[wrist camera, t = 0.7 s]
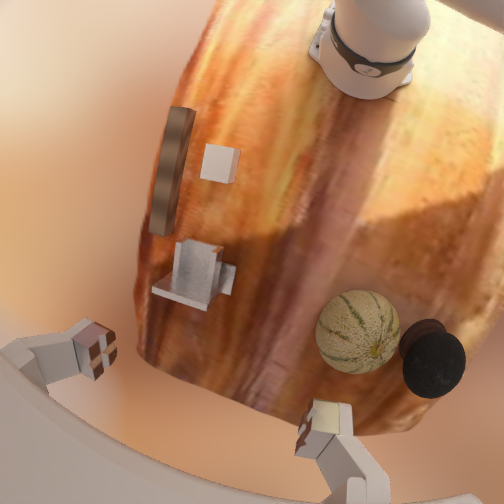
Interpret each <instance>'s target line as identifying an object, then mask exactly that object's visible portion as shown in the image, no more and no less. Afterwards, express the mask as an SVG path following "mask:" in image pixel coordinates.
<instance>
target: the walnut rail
mask: <svg viewBox="0 0 504 504" xmlns="http://www.w3.org/2000/svg"><path fill="white" fill-rule="evenodd" d="M195 115H196V111H194V110H192V109H190V108H185V107H174V106H171V108H170V112H169V116H168V121H167V125H166V129H165V134H164V139H163V144H162V149H161V154H160V159H159V164H158V170H157V176H156V182H155V188H154V194H153V201H152V208H151V215H150V223H149V233H152V234H156V235H159V236H162V237H165V236H167V235H169V234H171V233H173V228H174V222H175V215H176V209H177V203H178V197H179V192H180V186H181V181H182V175H183V170H184V165H185V160H186V155H187V150H188V146H189V141H190V137H191V132H192V128H193V123H194V119H195Z"/></svg>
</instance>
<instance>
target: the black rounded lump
mask: <svg viewBox="0 0 504 504" xmlns="http://www.w3.org/2000/svg"><path fill="white" fill-rule="evenodd" d="M399 350H400V354H401V356H402V358H403V359H404V362H403V376H404V380H405V383H406V385H407V386H408V388H409V389H410V390H411V391H412V392H413V393H414V394H416V395H418V396H420V397H422V398H429V399H432V398H438V397H441V396H443V395H445V394H447V393H448V392H450V391H451V390H452V389H453V388H454V387H455V386H456V385H457V384H458V383H459V381H460V379H461V378H462V375H463V373H464V370H465V364H466V357H465V351H464V348H463V346H462V344H461V343H460V341H459V340H458V339H457V338H456V337H455V336H453V335H452V334H450V333H447V332H446V330H445V327H444V326H443V325H442V323H441V322H439V321H438V320H435V319H425V320H421V321H419V322H417V323H415V324H413V325H412V326H411V327H410V328H409V329H408V330H407V331H406V332H405V333H404V335H403V336H402V339H401V341H400V345H399Z"/></svg>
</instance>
